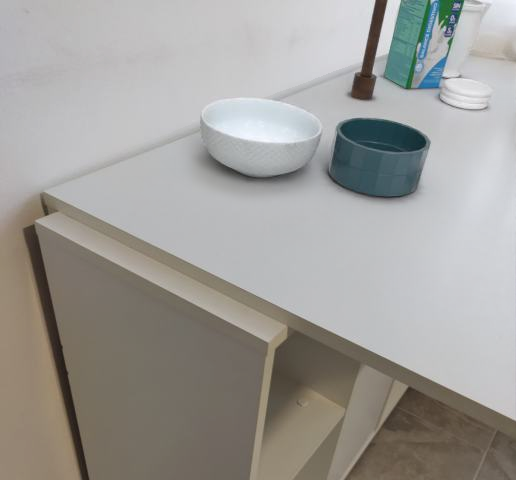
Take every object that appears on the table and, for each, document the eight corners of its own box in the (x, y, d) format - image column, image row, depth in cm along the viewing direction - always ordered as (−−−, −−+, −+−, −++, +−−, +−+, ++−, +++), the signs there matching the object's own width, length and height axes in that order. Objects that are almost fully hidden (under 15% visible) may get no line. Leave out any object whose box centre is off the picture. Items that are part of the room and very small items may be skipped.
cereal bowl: (204, 191, 71) (205, 138, 66) (195, 142, 83) (196, 94, 78) (327, 193, 74) (336, 142, 69) (301, 146, 86) (308, 100, 81)
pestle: (373, 95, 110) (400, -24, 97) (370, 101, 107) (397, -22, 93) (352, 91, 111) (376, -28, 97) (348, 97, 108) (372, -25, 94)
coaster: (432, 101, 111) (437, 83, 109) (447, 91, 118) (452, 74, 115) (479, 114, 108) (486, 95, 105) (492, 103, 114) (498, 85, 112)
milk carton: (406, 89, 116) (443, -54, 99) (382, 76, 122) (414, -61, 105) (439, 87, 119) (480, -51, 103) (414, 75, 125) (450, -58, 109)
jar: (461, 83, 124) (485, 8, 114) (417, 74, 126) (437, -1, 116) (465, 72, 132) (488, 1, 122) (423, 64, 134) (442, -7, 124)
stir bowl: (421, 172, 83) (434, 129, 78) (411, 207, 73) (425, 161, 69) (338, 153, 85) (346, 111, 81) (318, 185, 75) (326, 140, 71)
